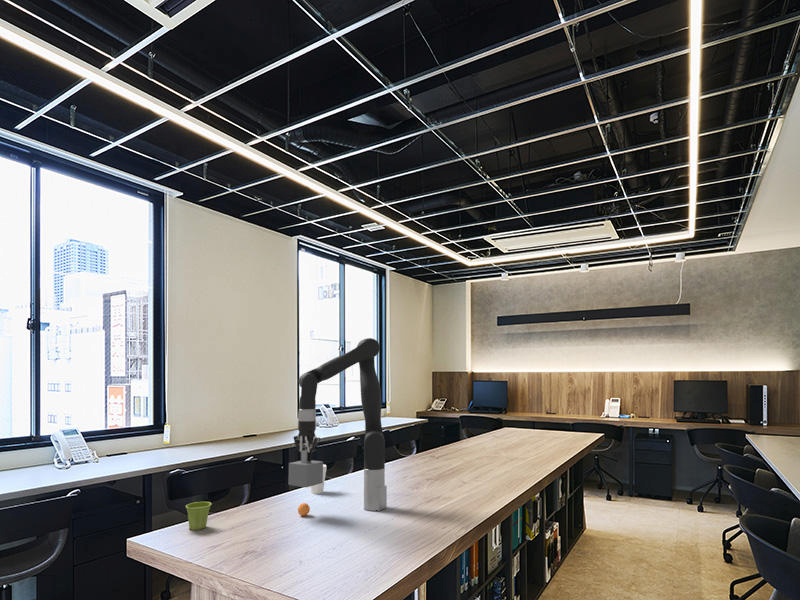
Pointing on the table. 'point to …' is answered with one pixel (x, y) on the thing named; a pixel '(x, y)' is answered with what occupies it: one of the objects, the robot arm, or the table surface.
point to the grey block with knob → (305, 472)
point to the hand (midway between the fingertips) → (306, 460)
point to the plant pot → (198, 514)
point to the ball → (303, 509)
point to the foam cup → (319, 487)
